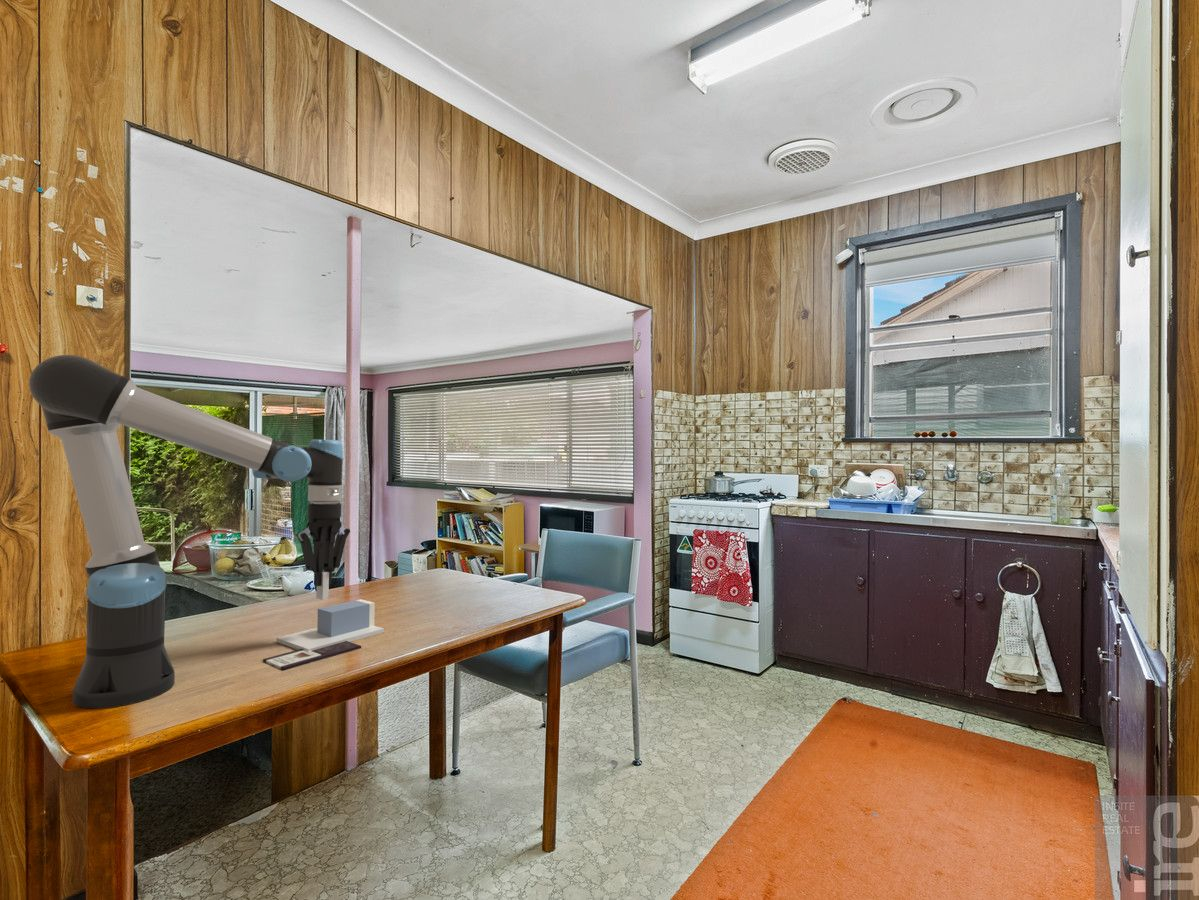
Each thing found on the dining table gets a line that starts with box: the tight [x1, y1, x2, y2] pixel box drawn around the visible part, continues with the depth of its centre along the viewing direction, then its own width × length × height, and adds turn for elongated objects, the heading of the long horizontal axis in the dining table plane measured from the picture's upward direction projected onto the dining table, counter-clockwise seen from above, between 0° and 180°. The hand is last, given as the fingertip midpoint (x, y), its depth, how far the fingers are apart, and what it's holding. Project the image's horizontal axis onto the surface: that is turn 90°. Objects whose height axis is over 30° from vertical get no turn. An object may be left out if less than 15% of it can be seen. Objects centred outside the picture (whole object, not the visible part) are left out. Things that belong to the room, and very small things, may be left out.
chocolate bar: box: [262, 641, 362, 671], centre depth 135 cm, size 9×1×18 cm
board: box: [275, 625, 385, 652], centre depth 148 cm, size 20×14×1 cm
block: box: [316, 598, 376, 637], centre depth 151 cm, size 6×6×12 cm
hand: (322, 598), depth 146 cm, fingers closed
